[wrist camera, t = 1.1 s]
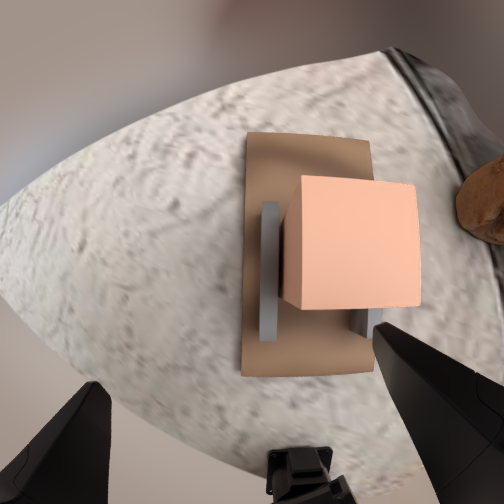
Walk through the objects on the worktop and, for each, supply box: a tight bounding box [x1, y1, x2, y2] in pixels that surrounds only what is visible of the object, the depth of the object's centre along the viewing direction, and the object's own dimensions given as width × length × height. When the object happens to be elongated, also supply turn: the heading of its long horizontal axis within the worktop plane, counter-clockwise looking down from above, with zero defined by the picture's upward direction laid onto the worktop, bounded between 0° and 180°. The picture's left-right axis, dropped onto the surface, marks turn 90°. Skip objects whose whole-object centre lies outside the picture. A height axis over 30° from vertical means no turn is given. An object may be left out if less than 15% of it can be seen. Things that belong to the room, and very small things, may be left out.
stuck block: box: [279, 175, 421, 310], centre depth 19 cm, size 6×6×12 cm
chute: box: [241, 132, 383, 377], centre depth 23 cm, size 22×12×6 cm, turn 179°
